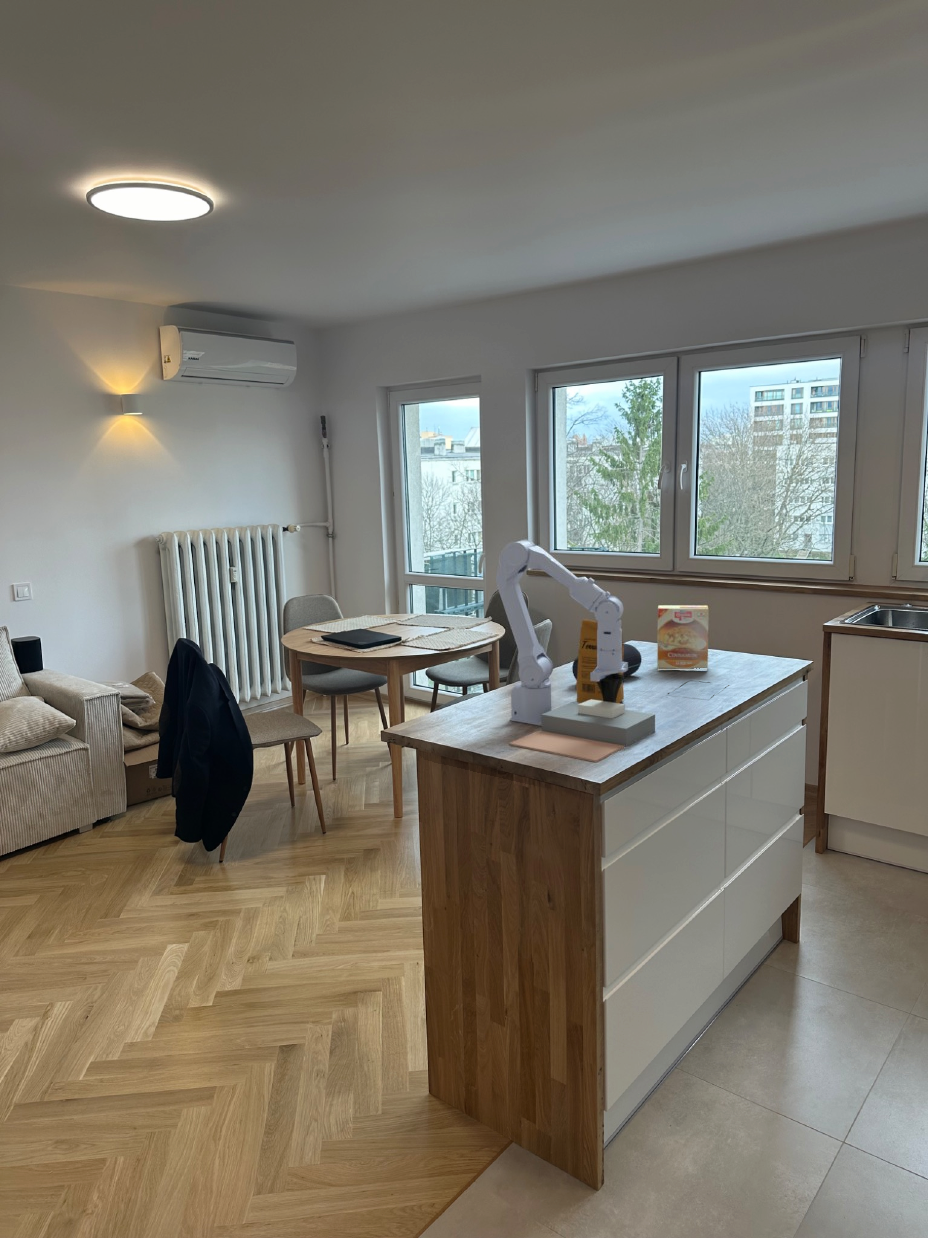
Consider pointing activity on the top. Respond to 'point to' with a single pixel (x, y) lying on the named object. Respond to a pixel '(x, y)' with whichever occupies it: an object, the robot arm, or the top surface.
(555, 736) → the mat
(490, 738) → the top surface
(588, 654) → the coffee package
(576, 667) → the portable speaker
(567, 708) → the grey flat block
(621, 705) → the cream rectangular block
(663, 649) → the coffeecake box
